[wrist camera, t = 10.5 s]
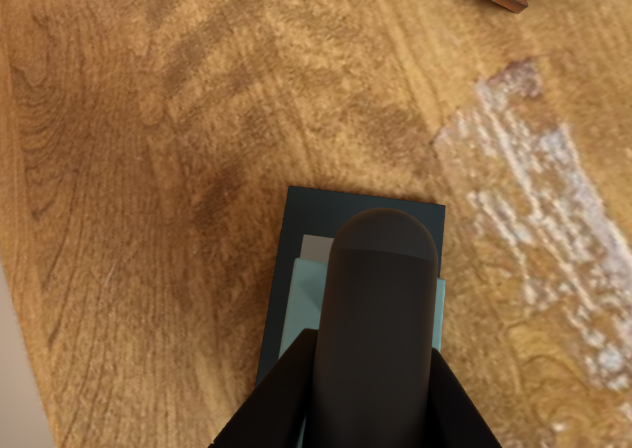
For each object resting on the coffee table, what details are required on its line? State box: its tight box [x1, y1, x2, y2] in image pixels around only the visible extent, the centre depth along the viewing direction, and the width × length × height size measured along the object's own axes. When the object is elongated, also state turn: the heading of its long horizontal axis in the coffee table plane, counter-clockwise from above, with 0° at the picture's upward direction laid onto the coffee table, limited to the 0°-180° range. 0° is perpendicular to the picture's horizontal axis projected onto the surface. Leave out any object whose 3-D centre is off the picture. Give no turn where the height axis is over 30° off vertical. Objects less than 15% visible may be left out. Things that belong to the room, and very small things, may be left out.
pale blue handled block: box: [278, 208, 445, 448], centre depth 11 cm, size 10×5×9 cm, turn 171°
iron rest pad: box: [255, 186, 445, 388], centre depth 19 cm, size 16×8×1 cm, turn 172°
